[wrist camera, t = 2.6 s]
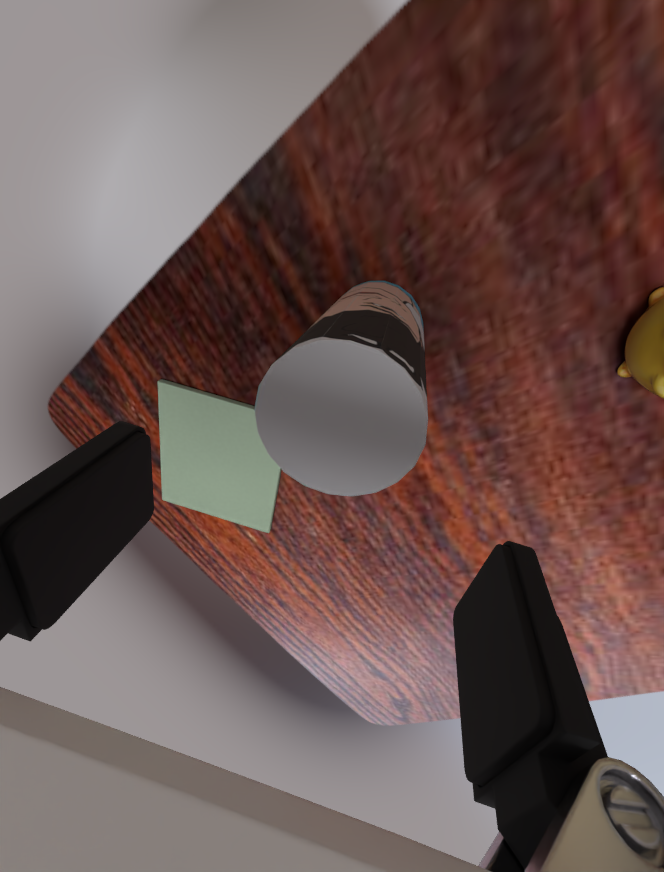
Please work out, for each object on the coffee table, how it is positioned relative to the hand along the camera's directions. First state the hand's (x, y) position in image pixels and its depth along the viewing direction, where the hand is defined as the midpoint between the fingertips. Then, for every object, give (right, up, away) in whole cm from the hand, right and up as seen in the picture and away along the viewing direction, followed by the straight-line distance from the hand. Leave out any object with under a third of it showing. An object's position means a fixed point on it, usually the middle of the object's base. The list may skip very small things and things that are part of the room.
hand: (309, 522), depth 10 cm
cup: (+4, +10, +17) cm, 20 cm away
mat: (-10, 0, +26) cm, 28 cm away
